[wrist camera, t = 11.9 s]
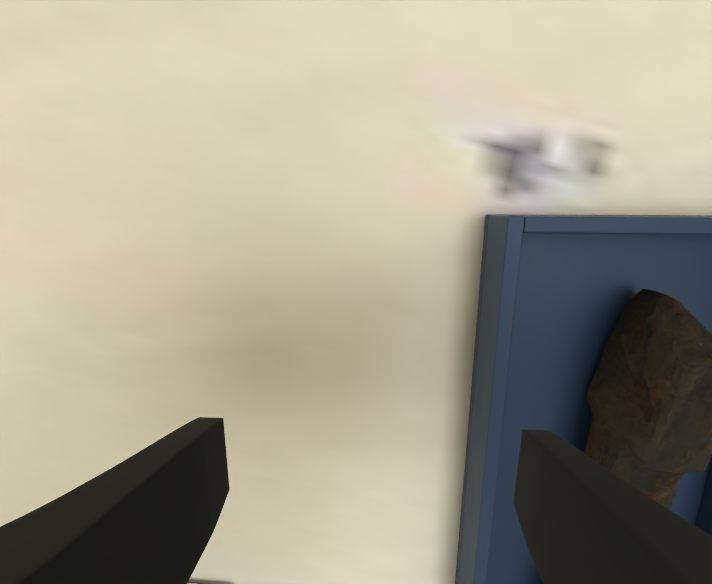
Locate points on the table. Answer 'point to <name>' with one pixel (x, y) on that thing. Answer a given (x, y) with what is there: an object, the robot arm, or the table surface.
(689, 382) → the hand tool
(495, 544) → the desk tray
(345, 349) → the table surface
